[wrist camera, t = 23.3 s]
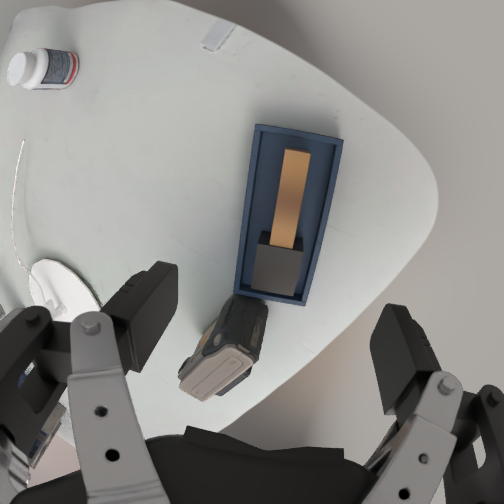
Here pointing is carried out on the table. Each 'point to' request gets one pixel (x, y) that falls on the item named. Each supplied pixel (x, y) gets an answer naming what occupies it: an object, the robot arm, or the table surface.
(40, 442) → the building
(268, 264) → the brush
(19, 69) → the pill bottle
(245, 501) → the robot arm
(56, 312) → the desk lamp
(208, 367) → the camera
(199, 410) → the table surface
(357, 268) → the table surface
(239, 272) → the tray
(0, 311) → the power adapter
